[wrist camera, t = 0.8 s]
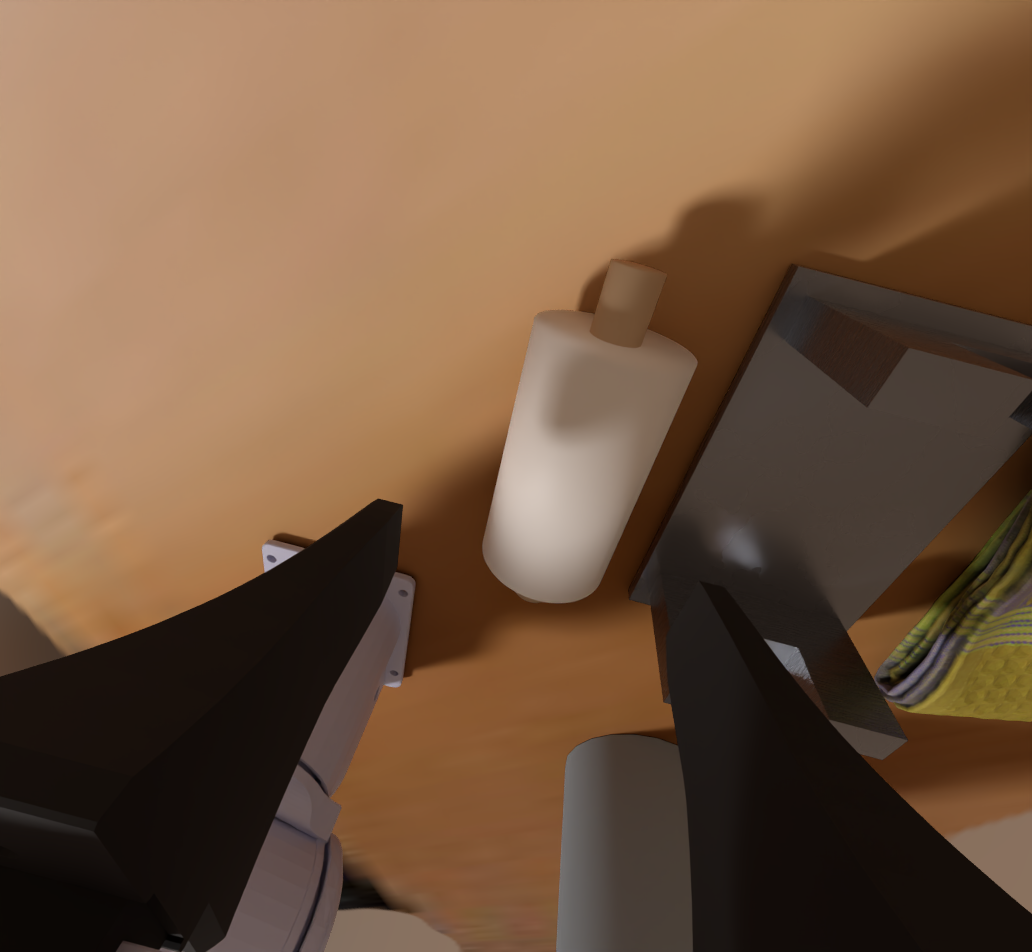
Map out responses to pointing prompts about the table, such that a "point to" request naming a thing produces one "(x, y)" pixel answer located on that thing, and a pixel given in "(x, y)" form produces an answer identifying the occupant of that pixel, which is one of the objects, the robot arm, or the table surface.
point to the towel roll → (583, 438)
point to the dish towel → (973, 637)
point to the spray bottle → (624, 849)
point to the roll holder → (839, 474)
